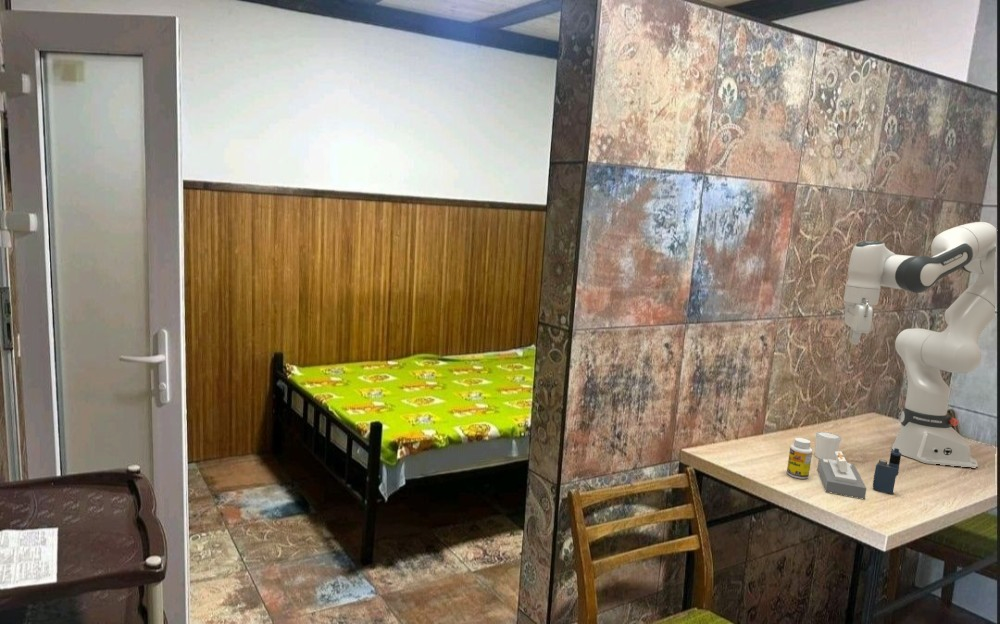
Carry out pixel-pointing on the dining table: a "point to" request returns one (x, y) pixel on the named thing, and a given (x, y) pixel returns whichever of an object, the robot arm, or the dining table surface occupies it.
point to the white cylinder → (826, 445)
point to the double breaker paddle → (841, 461)
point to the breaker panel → (841, 479)
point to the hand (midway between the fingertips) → (854, 344)
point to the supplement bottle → (799, 459)
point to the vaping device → (887, 473)
